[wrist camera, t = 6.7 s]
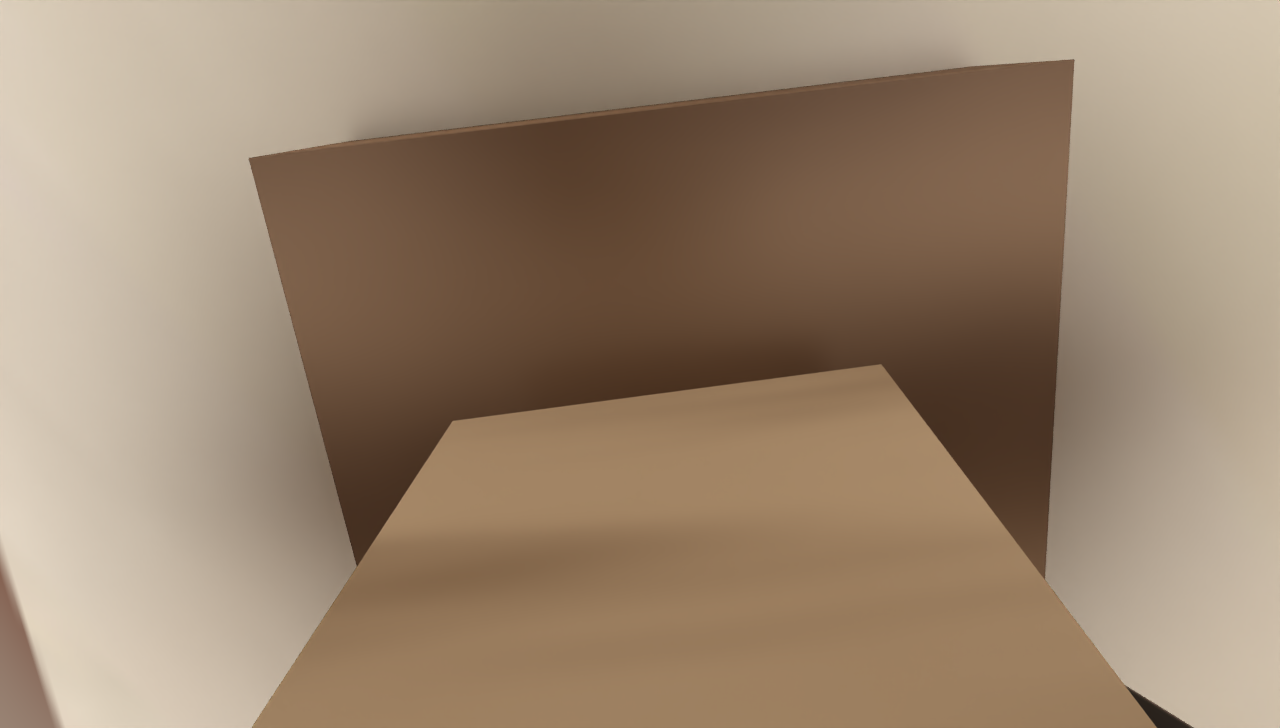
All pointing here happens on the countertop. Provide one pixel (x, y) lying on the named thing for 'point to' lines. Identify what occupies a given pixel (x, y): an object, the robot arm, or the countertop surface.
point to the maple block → (700, 579)
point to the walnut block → (689, 267)
